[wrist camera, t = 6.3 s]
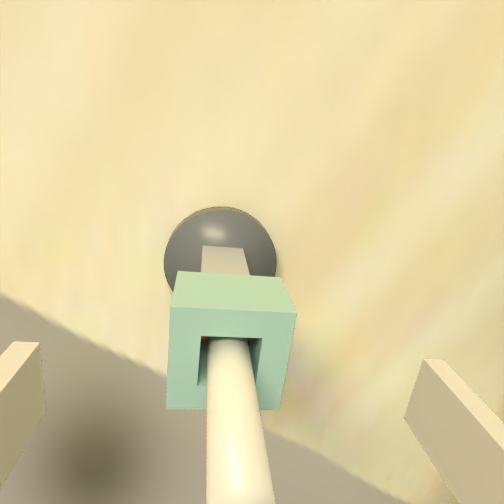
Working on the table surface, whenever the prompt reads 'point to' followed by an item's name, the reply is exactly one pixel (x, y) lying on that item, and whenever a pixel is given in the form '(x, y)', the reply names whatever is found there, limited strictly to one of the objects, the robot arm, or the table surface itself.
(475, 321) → the table surface
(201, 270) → the post
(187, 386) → the sleeve
